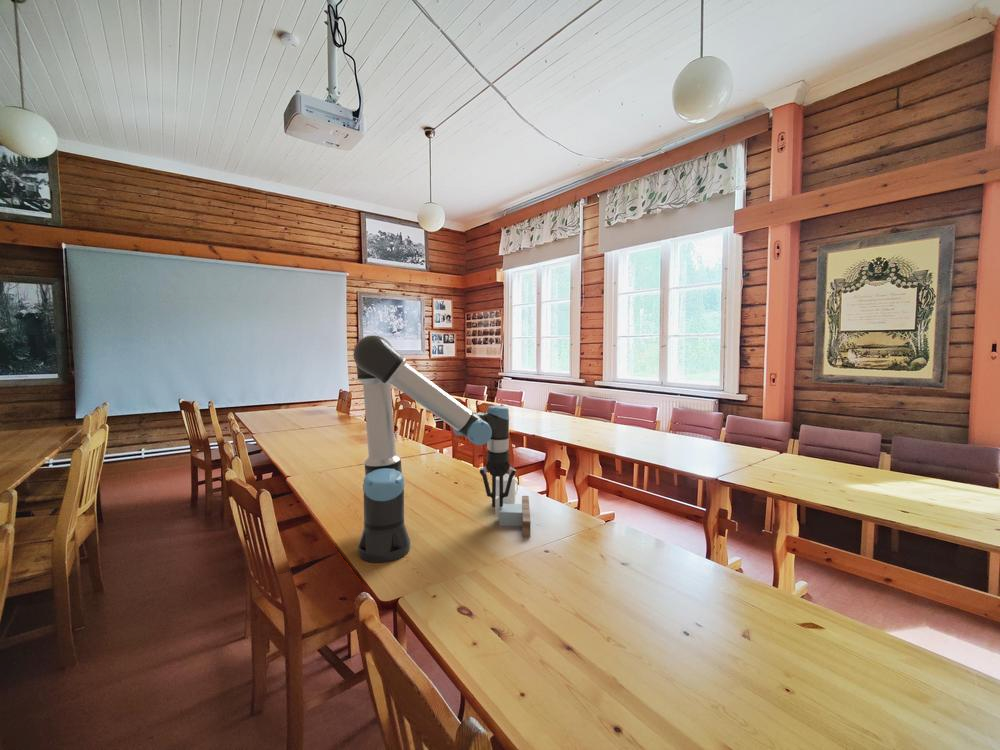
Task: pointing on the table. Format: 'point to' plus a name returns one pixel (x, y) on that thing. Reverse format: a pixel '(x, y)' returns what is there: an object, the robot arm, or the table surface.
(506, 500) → the mug
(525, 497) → the board
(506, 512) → the block
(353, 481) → the table surface
